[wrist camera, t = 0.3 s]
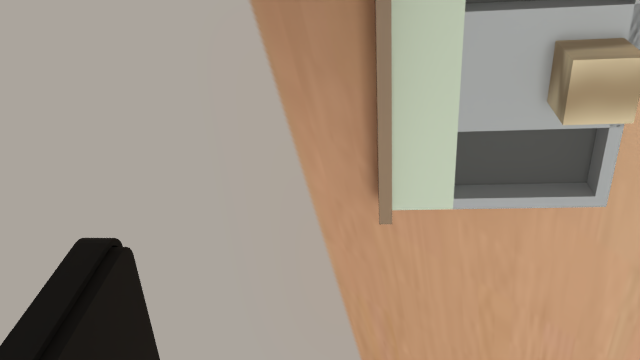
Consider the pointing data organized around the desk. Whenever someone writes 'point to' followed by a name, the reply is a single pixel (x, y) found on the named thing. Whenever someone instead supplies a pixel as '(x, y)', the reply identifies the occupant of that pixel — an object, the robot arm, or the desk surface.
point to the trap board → (488, 104)
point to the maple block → (595, 81)
